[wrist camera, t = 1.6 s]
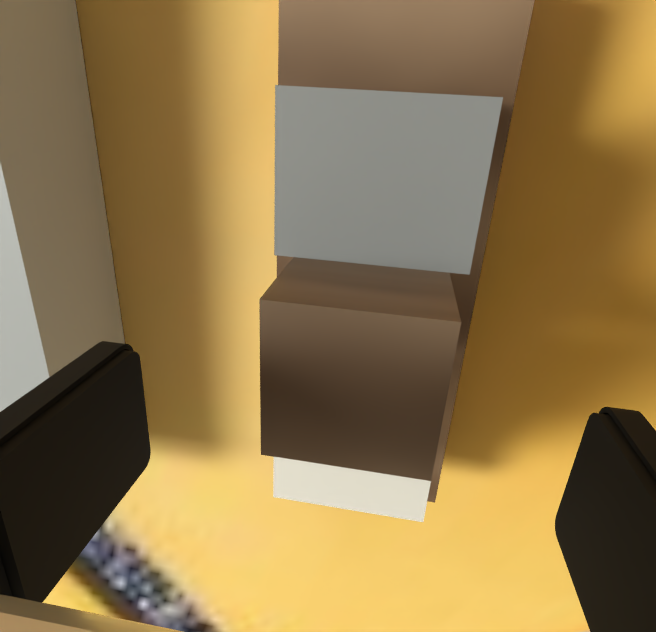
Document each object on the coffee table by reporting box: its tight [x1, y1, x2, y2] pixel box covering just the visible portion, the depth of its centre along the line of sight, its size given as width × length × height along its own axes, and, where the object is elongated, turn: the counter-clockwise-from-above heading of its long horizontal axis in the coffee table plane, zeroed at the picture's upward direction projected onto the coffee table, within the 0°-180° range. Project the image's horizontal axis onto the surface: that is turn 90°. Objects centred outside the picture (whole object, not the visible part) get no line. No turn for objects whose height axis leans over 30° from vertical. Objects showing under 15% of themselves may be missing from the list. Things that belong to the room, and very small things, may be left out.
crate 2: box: [273, 457, 431, 522], centre depth 16 cm, size 4×5×4 cm
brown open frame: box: [260, 0, 535, 502], centre depth 15 cm, size 19×7×10 cm, turn 177°
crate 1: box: [274, 85, 503, 275], centre depth 13 cm, size 4×5×4 cm
